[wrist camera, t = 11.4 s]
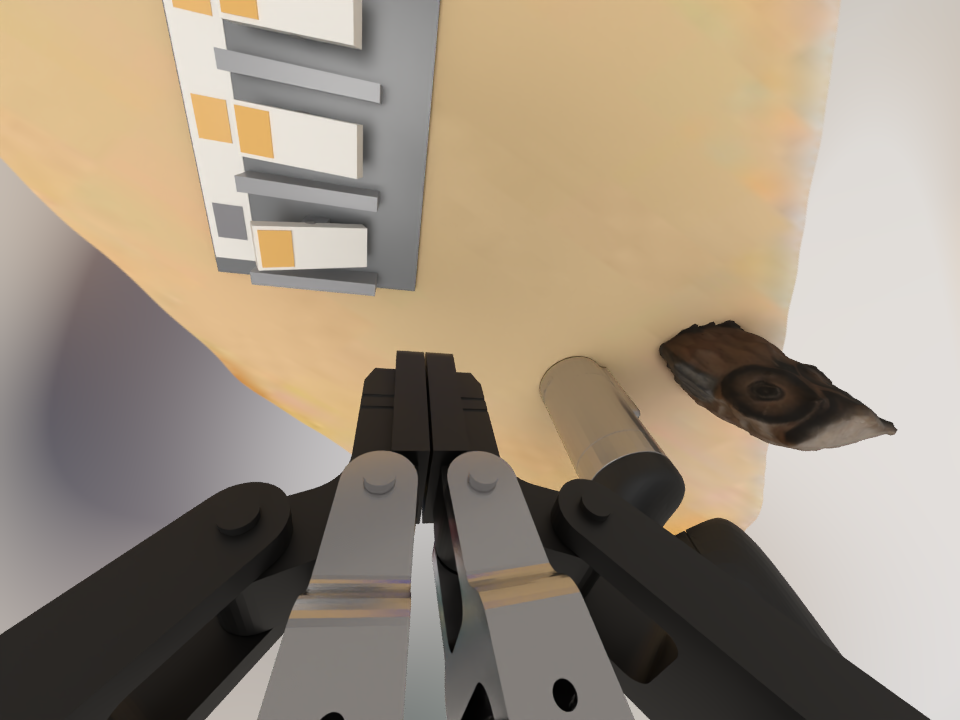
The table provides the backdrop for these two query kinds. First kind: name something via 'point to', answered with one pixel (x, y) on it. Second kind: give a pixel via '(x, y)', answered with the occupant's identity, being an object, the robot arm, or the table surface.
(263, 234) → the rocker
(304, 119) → the rocker middle
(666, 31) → the table surface
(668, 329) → the table surface
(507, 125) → the table surface
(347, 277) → the switch unit
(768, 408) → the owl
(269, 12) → the rocker
